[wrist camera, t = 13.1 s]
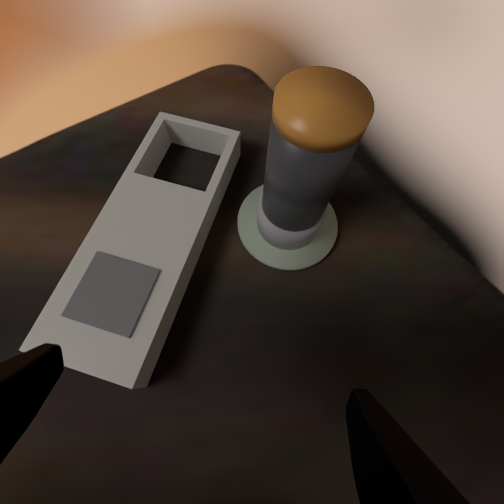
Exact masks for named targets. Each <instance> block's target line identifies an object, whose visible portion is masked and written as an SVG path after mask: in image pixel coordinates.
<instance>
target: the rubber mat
mask: <svg viewBox="0 0 504 504" xmlns="http://www.w3.org/2000/svg"><path fill="white" fill-rule="evenodd" d="M263 186H264V185H262V186H260V187H258V188H256V189H255V190H253V191H252V192H251V193H250V194H249V195H248V196H247V197H246V198H245V200H244V201H243V203H242V205H241V207H240V210H239V214H238V233H239V236H240V240H241V242H242V244H243V246H244V247H245V249H246V250H247V252H248V253H249V254H250V255H251V256H252V257H253V258H254V259H256V260H257V261H258V262H260V263H261V264H263V265H265V266H267V267H270V268H273V269H276V270H281V271H298V270H303V269H307V268H309V267H312V266H314V265H315V264H317V263H319V262H320V261H321V260H322V259H324V258H325V256H326V255H327V254H328V253H329V251H330V250H331V248H332V247H333V245H334V243H335V241H336V237H337V231H338V223H337V218H336V215H335V212H334V210H333V208H332V206H331V204H330V203H328V205H327V213H326V216H325V218H324V220H323V222H322V224H321V226H320V228H319V230H318V232H317V234H316V235H315V237H314V239H313V240H312V241H311V242H310V243H309V244H308V245H306V246H305V247H303V248H300V249H297V250H282V249H278V248H276V247H274V246H272V245H270V244H269V243H267V242H266V241H265V240H264V239H263V237H262V236H261V235H260V233H259V230H258V227H257V213H258V203H259V197H260V194H261V191H262V190H263Z"/></svg>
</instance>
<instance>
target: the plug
mask: <svg viewBox="0 0 504 504" xmlns="http://www.w3.org/2000/svg"><path fill="white" fill-rule="evenodd" d="M373 113H374V101H373V97H372V95H371V93H370V91H369V90H368V88H367V87H366V86H365V85H364V84H363V83H362V82H361V81H360V80H358V79H357V78H356V77H354V76H352V75H351V74H349V73H347V72H345V71H342V70H339V69H335V68H331V67H325V66H310V67H304V68H300V69H297V70H294V71H292V72H290V73H288V74H287V75H286V76H284V77H283V78H282V79H281V80H280V81H279V83H278V84H277V86H276V88H275V92H274V99H273V108H272V117H271V125H270V134H269V143H268V151H267V160H266V169H265V178H264V186H263V190H262V191H261V194H260V197H259V203H258V213H257V227H258V230H259V233H260V235H261V236H262V237H263V239H264V240H265V241H266V242H267V243H269V244H270V245H272V246H274V247H276V248H278V249H282V250H297V249H300V248H303V247H305V246H306V245H308V244H309V243H310V242H311V241H312V240H313V239H314V237H315V235H316V234H317V232H318V230H319V228H320V226H321V224H322V222H323V220H324V218H325V216H326V213H327V205H328V203H329V201H330V199H331V197H332V195H333V194H334V192H335V190H336V188H337V186H338V184H339V182H340V180H341V178H342V176H343V174H344V172H345V170H346V168H347V166H348V164H349V162H350V160H351V158H352V156H353V154H354V152H355V150H356V148H357V146H358V144H359V142H360V140H361V138H362V136H363V134H364V132H365V130H366V128H367V126H368V124H369V122H370V120H371V118H372V116H373Z"/></svg>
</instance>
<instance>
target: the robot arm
mask: <svg viewBox="0 0 504 504" xmlns="http://www.w3.org/2000/svg"><path fill="white" fill-rule="evenodd" d="M63 369H64V361H63V355H62V349H61V347H60V345H58V344H51V343H44V344H42V345H39V346H37V347H35V348H33V349H30V350H28V351H26V352H24V353H21V354H19V355H17V356H15V357H12V358H10V359H8V360H6V361H3V362H1V363H0V464H1V463H2V461H3V460H4V459H5V457H6V456H7V455H8V453H9V452H10V451H11V449H12V448H13V447H14V445H15V444H16V443H17V441H18V440H19V438H20V437H21V436H22V434H23V433H24V432H25V430H26V429H27V428H28V426H29V425H30V423H31V422H32V420H33V419H34V417H35V416H36V414H37V413H38V411H39V410H40V408H41V406H42V405H43V403H44V401H45V400H46V398H47V397H48V395H49V393H50V392H51V390H52V388H53V387H54V385H55V384H56V382H57V380H58V379H59V377H60V376H61V374H62V372H63ZM346 421H347V429H348V437H349V445H350V453H351V461H352V468H353V474H354V479H355V484H356V488H357V492H358V497H359V501H360V504H470V503H469V502H468V501H467V500H466V499H465V497H464V496H463V495H462V494H461V493H460V492H459V491H458V490H457V489H456V487H455V486H454V485H453V484H452V483H451V482H450V481H449V480H448V479H447V477H446V476H445V475H444V474H443V473H442V472H441V471H440V470H439V469H438V467H437V466H436V465H435V464H434V463H433V462H432V461H431V460H430V459H429V457H428V456H427V455H426V454H425V453H424V452H423V451H422V450H421V449H420V447H419V446H418V445H417V444H416V443H415V442H414V441H413V440H412V439H411V437H410V436H409V435H408V434H407V433H406V432H405V431H404V430H403V429H402V427H401V426H400V425H399V424H398V423H397V422H396V421H395V420H394V419H393V418H392V416H391V415H390V414H389V413H388V412H387V411H386V410H385V409H384V408H383V406H382V405H381V404H380V403H379V402H378V401H377V400H376V399H375V398H374V396H373V395H372V394H371V393H370V392H369V391H368V390H366V389H359V388H354V389H353V390H352V391H351V394H350V397H349V400H348V403H347V407H346Z"/></svg>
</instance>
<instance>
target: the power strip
mask: <svg viewBox="0 0 504 504" xmlns="http://www.w3.org/2000/svg"><path fill="white" fill-rule="evenodd" d="M171 143H174V144H178V145H182V146H186V147H190V148H194V149H198V150H201V151H205V152H209V153H213V154H217V155H221V157H220V160H219V162H218V164H217V167H216V169H215V171H214V173H213V176H212V178H211V180H210V183H209V185H208V187H207V190H206V192H204V191H200V190H196V189H192V188H189V187H185V186H181V185H178V184H174V183H170V182H167V181H163V180H159V179H156V178H153V176H154V174H155V173H156V171H157V169H158V167H159V165H160V163H161V161H162V159H163V158H164V156H165V154H166V152H167V150H168V148H169V146H170V145H171ZM240 155H241V153H240V132H239V131H235V130H231V129H227V128H223V127H219V126H215V125H211V124H207V123H203V122H199V121H195V120H191V119H187V118H183V117H179V116H175V115H171V114H167V113H163V112H160V113H159V114H158V116H157V118H156V119H155V121H154V123H153V124H152V126H151V128H150V130H149V131H148V133H147V135H146V136H145V138H144V140H143V141H142V143H141V145H140V146H139V148H138V150H137V151H136V153H135V155H134V157H133V158H132V160H131V162H130V163H129V165H128V167H127V168H126V170H125V172H124V173H123V175H122V177H121V179H120V180H119V182H118V184H117V185H116V187H115V189H114V190H113V192H112V194H111V195H110V197H109V199H108V200H107V202H106V204H105V206H104V207H103V209H102V211H101V212H100V214H99V216H98V217H97V219H96V221H95V222H94V224H93V226H92V227H91V229H90V231H89V233H88V234H87V236H86V238H85V239H84V241H83V243H82V244H81V246H80V248H79V249H78V251H77V253H76V255H75V256H74V258H73V260H72V261H71V263H70V265H69V266H68V268H67V270H66V271H65V273H64V275H63V276H62V278H61V280H60V282H59V283H58V285H57V287H56V288H55V290H54V292H53V293H52V295H51V297H50V298H49V300H48V302H47V304H46V305H45V307H44V309H43V310H42V312H41V314H40V315H39V317H38V319H37V320H36V322H35V324H34V325H33V327H32V329H31V331H30V332H29V334H28V336H27V337H26V339H25V341H24V342H23V344H22V346H21V347H20V349H19V351H22V352H26V351H28V350H30V349H33V348H35V347H37V346H39V345H42V344H44V343H51V344H58V345H60V347H61V349H62V355H63V361H64V366H66V367H69V368H72V369H75V370H77V371H80V372H83V373H86V374H89V375H92V376H95V377H98V378H101V379H104V380H107V381H110V382H113V383H115V384H118V385H121V386H124V387H127V388H130V389H137V388H145V387H147V385H148V383H149V380H150V378H151V375H152V373H153V370H154V368H155V365H156V363H157V361H158V358H159V356H160V353H161V351H162V348H163V346H164V343H165V341H166V338H167V336H168V333H169V331H170V328H171V326H172V323H173V321H174V318H175V316H176V313H177V311H178V308H179V306H180V303H181V301H182V298H183V296H184V293H185V291H186V289H187V286H188V284H189V281H190V279H191V276H192V274H193V271H194V269H195V266H196V264H197V261H198V259H199V256H200V254H201V251H202V249H203V246H204V244H205V241H206V239H207V236H208V234H209V231H210V229H211V226H212V224H213V222H214V219H215V217H216V214H217V212H218V209H219V207H220V204H221V202H222V199H223V197H224V194H225V192H226V189H227V187H228V184H229V182H230V179H231V177H232V174H233V172H234V169H235V167H236V164H237V162H238V159H239V157H240Z"/></svg>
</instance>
